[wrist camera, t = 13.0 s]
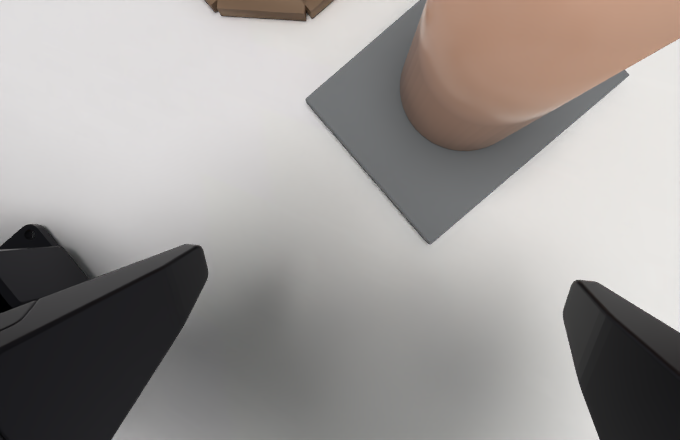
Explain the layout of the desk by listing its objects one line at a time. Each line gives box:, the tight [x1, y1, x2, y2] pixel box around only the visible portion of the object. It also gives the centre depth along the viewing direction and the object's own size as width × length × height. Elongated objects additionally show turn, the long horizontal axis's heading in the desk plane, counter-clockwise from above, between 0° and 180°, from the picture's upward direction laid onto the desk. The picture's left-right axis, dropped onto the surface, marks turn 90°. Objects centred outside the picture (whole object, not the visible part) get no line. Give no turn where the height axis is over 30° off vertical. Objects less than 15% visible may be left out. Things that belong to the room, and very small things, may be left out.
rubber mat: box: [306, 0, 629, 244], centre depth 17 cm, size 12×9×1 cm
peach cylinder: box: [400, 0, 680, 151], centre depth 12 cm, size 6×6×10 cm
